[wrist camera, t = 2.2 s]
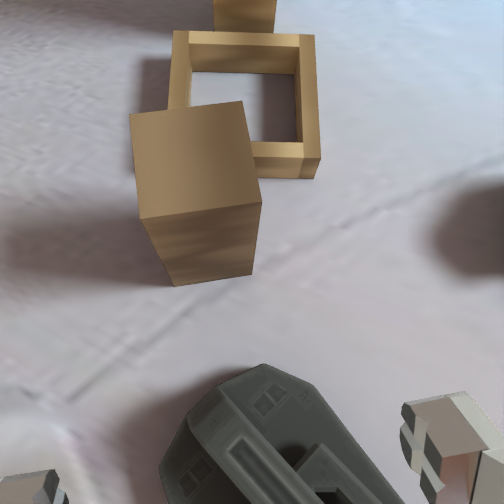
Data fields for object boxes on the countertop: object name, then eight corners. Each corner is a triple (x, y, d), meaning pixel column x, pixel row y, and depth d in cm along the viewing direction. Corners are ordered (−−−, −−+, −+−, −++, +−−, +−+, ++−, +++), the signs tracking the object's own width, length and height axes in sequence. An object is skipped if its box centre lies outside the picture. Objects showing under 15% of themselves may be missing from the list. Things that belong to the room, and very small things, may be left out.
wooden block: (174, 286, 26) (139, 219, 16) (165, 215, 27) (128, 114, 17) (251, 274, 26) (262, 201, 17) (239, 205, 27) (242, 100, 18)
